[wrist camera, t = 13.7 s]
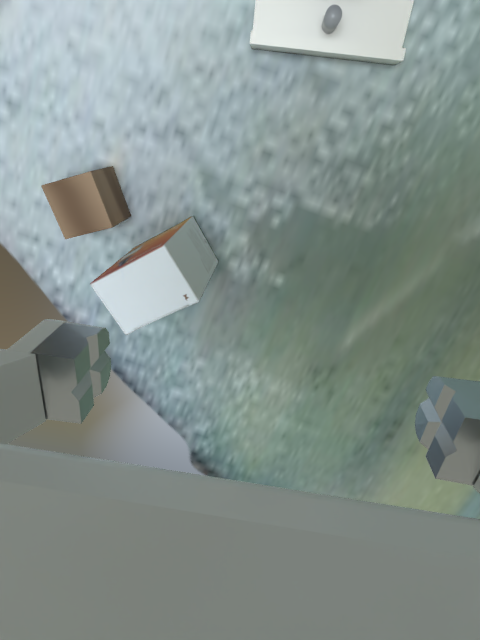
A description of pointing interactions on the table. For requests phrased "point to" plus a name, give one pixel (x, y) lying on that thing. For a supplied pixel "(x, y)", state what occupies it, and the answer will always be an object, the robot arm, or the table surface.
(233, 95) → the table surface
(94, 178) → the walnut block
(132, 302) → the small box
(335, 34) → the peg board
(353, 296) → the table surface
